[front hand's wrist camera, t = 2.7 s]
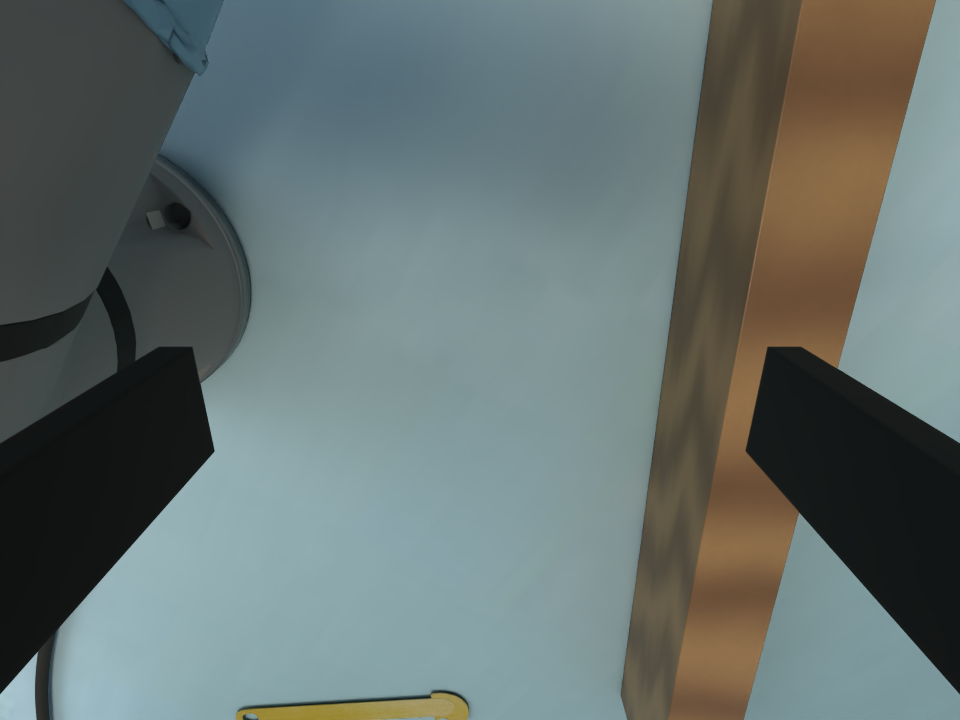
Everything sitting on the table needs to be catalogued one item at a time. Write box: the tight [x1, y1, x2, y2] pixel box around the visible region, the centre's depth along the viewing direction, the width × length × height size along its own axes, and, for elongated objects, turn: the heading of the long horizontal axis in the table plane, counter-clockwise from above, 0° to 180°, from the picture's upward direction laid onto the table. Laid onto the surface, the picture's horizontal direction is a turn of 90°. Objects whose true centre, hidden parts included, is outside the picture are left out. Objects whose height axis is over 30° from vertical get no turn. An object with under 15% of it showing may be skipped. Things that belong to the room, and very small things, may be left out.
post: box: [621, 0, 936, 720], centre depth 28 cm, size 76×5×8 cm, turn 0°
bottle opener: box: [236, 693, 469, 720], centre depth 46 cm, size 5×1×20 cm
